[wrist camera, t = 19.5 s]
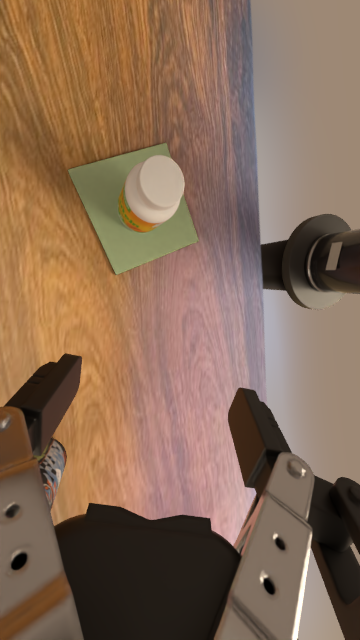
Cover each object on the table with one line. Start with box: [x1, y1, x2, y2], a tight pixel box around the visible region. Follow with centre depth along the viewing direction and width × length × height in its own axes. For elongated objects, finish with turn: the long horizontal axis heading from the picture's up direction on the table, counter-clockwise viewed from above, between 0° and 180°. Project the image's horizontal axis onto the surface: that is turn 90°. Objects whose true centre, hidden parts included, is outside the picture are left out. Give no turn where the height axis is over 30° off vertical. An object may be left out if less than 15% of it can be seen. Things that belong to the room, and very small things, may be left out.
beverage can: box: [33, 438, 67, 511], centre depth 24 cm, size 6×7×12 cm
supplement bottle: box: [117, 155, 185, 233], centre depth 24 cm, size 5×5×10 cm
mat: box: [68, 143, 199, 275], centre depth 29 cm, size 12×12×1 cm
